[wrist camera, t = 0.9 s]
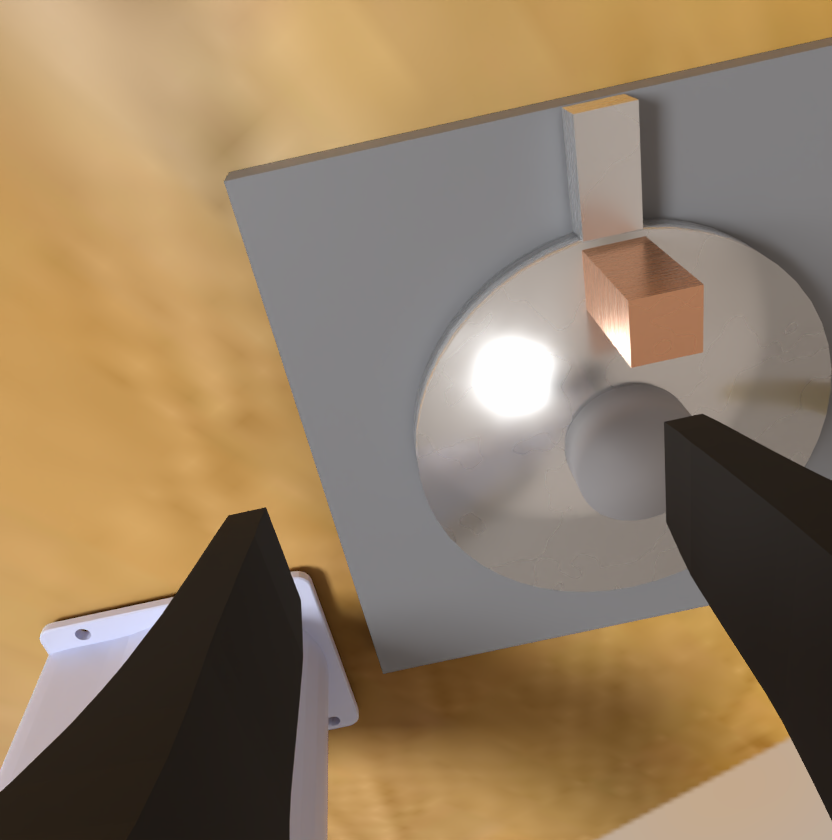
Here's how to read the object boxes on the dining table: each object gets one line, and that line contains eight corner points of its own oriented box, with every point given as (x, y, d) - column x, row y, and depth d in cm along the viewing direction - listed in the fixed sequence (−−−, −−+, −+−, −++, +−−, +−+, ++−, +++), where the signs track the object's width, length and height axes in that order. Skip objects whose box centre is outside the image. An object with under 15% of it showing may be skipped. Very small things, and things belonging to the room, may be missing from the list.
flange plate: (450, 602, 25) (470, 710, 22) (345, 155, 18) (348, 203, 14) (796, 529, 25) (877, 625, 21) (842, 44, 18) (982, 63, 14)
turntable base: (381, 652, 28) (387, 741, 25) (228, 172, 19) (206, 212, 16) (853, 553, 28) (921, 629, 25) (934, 14, 18) (1062, 22, 15)
